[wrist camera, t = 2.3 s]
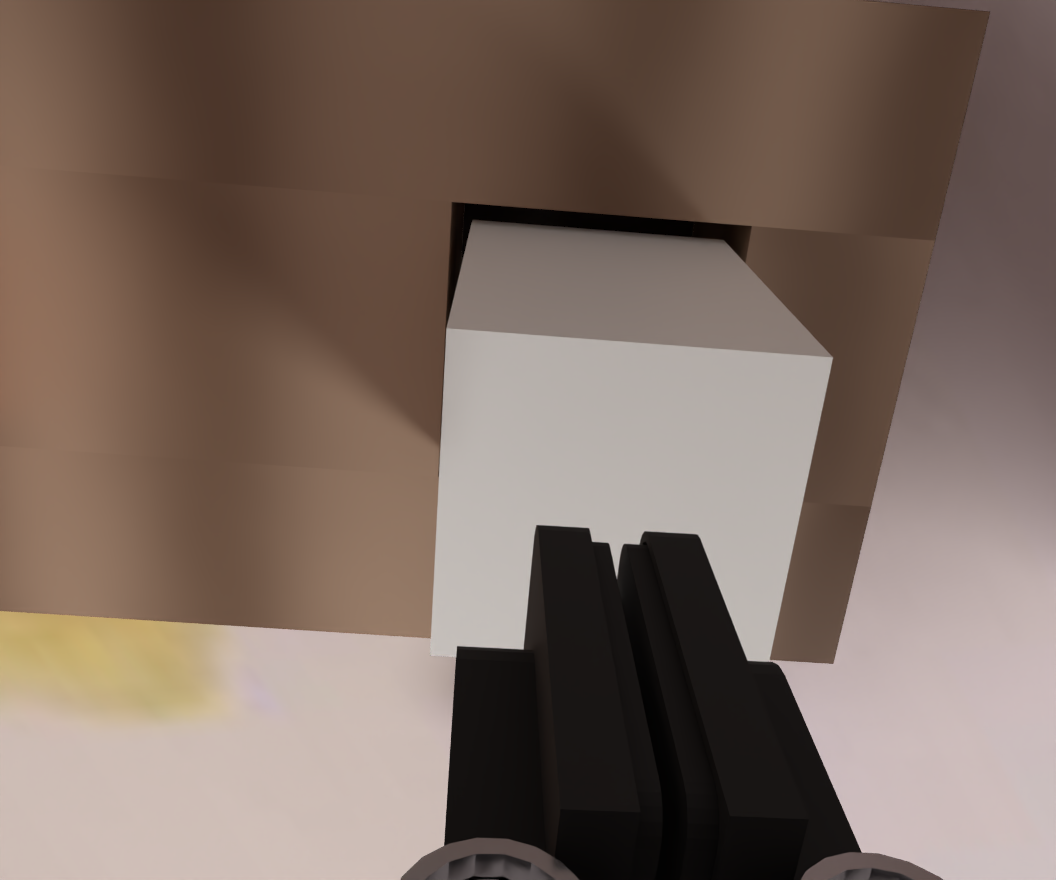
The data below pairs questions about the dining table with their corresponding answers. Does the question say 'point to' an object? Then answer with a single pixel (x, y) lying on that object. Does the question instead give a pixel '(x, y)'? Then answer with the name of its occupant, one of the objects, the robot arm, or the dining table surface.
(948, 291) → the dining table surface
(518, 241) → the white rectangular block
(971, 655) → the dining table surface
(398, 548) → the button box
